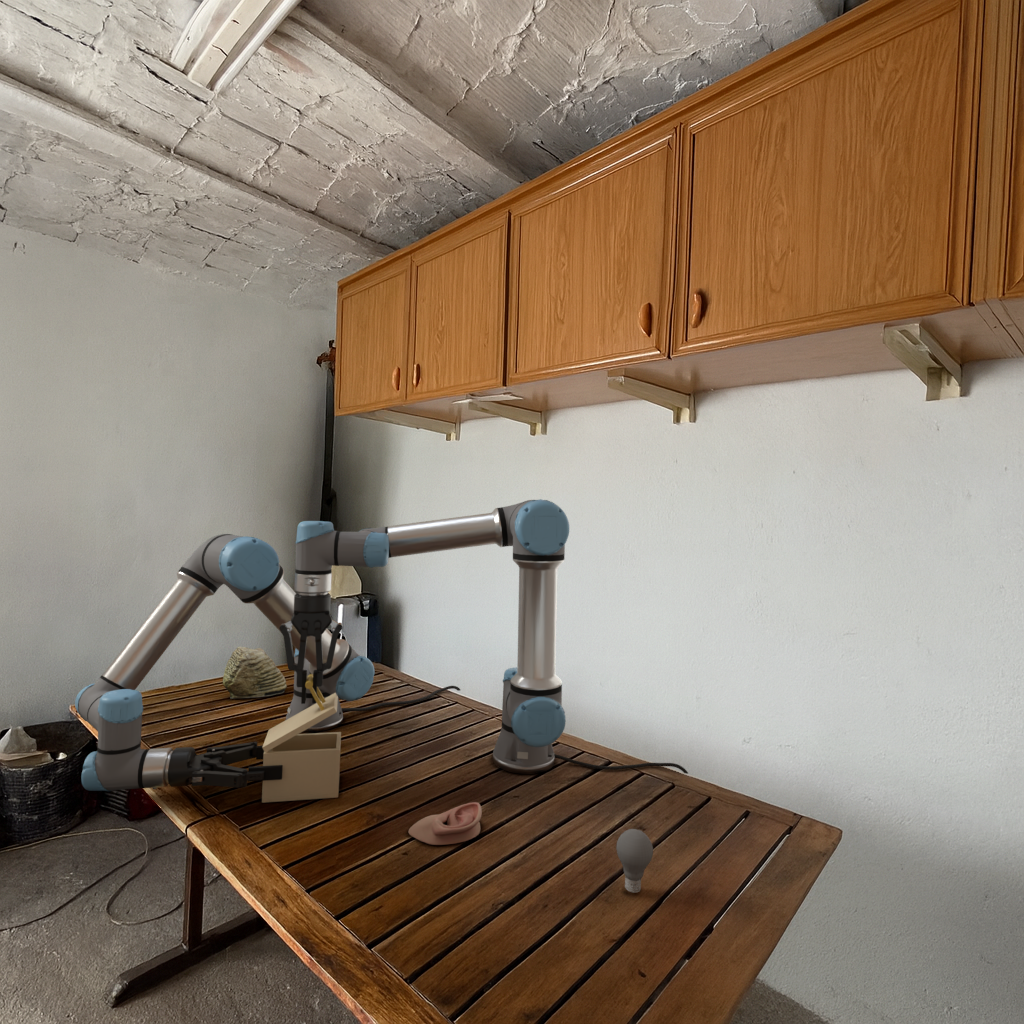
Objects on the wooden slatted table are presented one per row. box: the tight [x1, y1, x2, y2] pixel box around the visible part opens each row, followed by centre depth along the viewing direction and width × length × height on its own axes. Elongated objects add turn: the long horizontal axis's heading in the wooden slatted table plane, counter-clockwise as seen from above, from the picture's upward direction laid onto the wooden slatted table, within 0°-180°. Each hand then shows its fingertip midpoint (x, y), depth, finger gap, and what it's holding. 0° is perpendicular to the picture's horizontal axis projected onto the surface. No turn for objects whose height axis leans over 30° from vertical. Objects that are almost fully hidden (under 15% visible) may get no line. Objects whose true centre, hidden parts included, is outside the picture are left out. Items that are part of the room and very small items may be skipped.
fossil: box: [222, 646, 288, 699], centre depth 198 cm, size 9×18×15 cm, turn 132°
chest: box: [261, 731, 342, 803], centre depth 137 cm, size 15×10×10 cm
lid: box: [262, 674, 339, 752], centre depth 136 cm, size 16×10×8 cm, turn 103°
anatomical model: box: [407, 801, 483, 846], centre depth 122 cm, size 13×4×12 cm
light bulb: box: [615, 828, 654, 894], centre depth 106 cm, size 6×6×10 cm
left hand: (285, 761), depth 136 cm, fingers closed on chest, 10 cm apart
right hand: (309, 701), depth 137 cm, fingers closed on lid, 1 cm apart
